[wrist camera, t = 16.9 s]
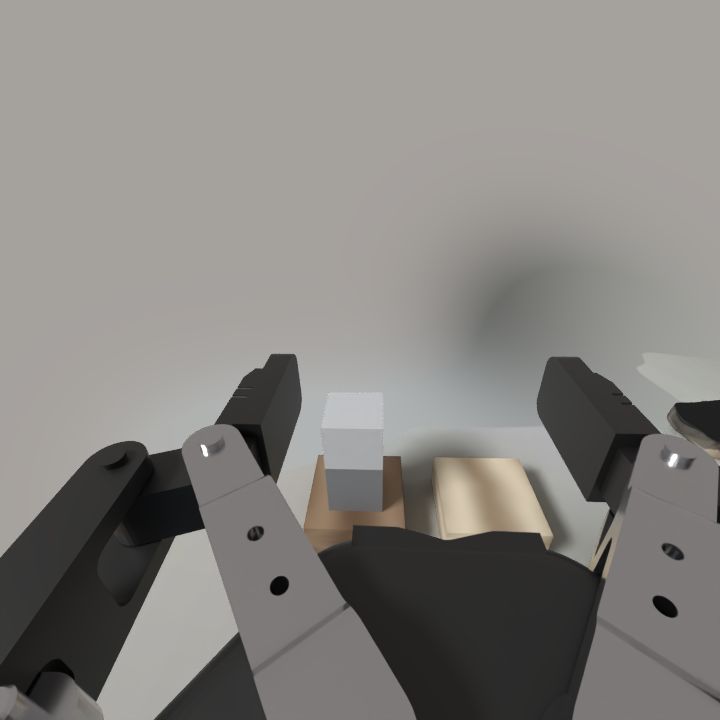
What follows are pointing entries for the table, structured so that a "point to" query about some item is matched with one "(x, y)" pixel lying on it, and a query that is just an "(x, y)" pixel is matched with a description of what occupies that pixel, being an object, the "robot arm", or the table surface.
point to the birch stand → (485, 498)
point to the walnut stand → (338, 525)
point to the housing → (353, 451)
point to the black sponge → (698, 424)
